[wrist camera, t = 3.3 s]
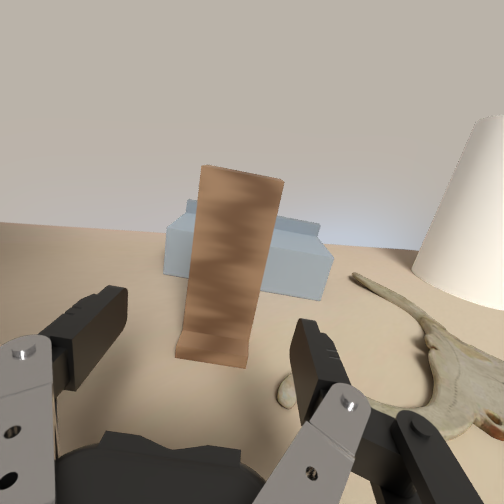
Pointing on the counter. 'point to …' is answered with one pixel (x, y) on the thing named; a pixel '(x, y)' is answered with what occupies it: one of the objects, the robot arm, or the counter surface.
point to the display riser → (278, 261)
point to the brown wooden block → (227, 264)
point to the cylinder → (470, 223)
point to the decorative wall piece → (443, 378)
